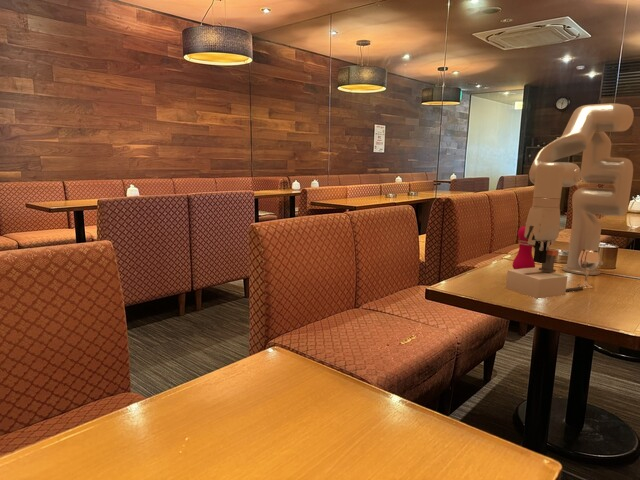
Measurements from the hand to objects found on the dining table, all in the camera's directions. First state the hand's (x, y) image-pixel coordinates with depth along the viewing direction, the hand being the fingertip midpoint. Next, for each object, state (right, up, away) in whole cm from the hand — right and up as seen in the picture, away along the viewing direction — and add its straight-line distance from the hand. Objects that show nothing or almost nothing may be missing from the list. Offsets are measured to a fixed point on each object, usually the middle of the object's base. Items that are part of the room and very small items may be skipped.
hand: (539, 262), depth 140 cm
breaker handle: (+3, -3, +2) cm, 5 cm away
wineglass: (+20, -9, +9) cm, 24 cm away
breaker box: (+4, -9, +3) cm, 10 cm away
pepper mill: (+3, -7, +18) cm, 20 cm away
